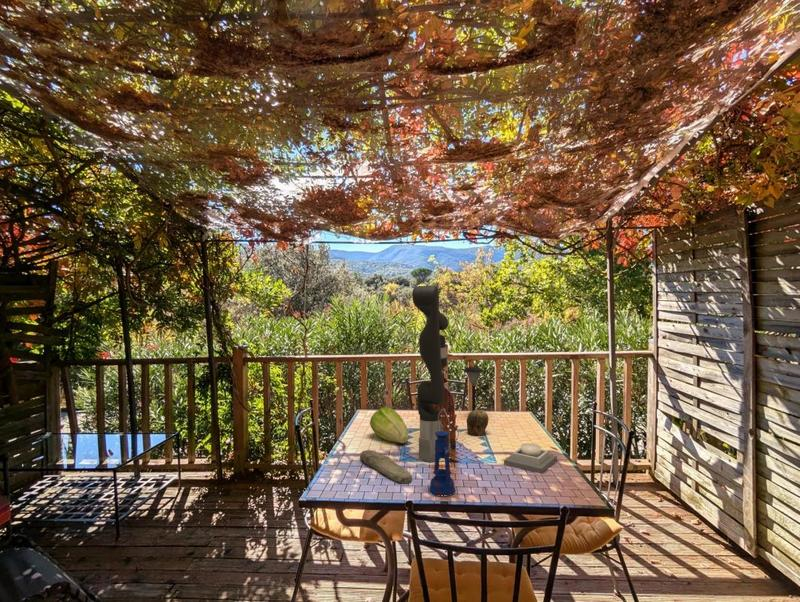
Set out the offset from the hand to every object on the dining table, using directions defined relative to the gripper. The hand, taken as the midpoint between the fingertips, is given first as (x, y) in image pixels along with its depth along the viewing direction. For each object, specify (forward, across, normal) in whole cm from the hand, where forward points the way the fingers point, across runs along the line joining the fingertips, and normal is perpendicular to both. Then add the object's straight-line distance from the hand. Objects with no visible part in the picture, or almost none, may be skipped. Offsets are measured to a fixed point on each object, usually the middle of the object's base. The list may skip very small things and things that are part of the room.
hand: (441, 389), depth 224 cm
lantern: (+23, +60, -8) cm, 64 cm away
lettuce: (+24, 0, -26) cm, 35 cm away
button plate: (+26, +33, +33) cm, 53 cm away
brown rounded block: (+26, -7, +18) cm, 33 cm away
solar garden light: (+27, -31, +20) cm, 46 cm away
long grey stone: (+23, +38, -29) cm, 53 cm away
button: (+22, +33, +33) cm, 52 cm away
